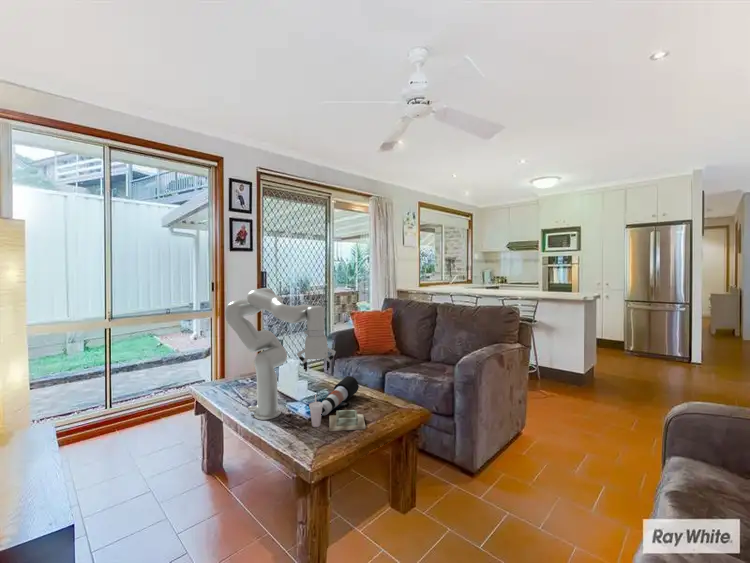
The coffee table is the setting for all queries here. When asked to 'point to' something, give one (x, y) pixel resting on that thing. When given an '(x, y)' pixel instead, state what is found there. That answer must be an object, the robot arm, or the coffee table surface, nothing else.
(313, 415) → the smoothie
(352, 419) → the end holder
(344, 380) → the white black banded cylinder
